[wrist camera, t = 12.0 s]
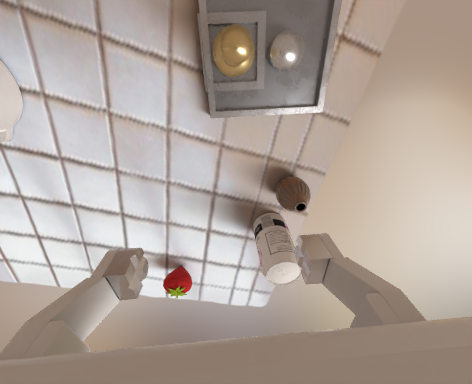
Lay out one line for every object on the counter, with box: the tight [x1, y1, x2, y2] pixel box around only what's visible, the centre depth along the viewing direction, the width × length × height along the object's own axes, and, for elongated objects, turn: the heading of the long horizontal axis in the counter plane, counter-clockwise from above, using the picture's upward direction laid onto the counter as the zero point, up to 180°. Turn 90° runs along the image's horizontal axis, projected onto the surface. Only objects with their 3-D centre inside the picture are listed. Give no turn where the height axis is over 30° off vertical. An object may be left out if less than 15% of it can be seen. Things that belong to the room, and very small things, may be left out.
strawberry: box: [163, 266, 192, 299], centre depth 52 cm, size 6×8×10 cm
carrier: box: [197, 0, 342, 118], centre depth 30 cm, size 20×18×4 cm
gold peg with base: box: [213, 24, 254, 77], centre depth 26 cm, size 6×6×10 cm
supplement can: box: [253, 213, 302, 285], centre depth 43 cm, size 8×8×15 cm
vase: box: [276, 176, 310, 212], centre depth 41 cm, size 7×7×9 cm
